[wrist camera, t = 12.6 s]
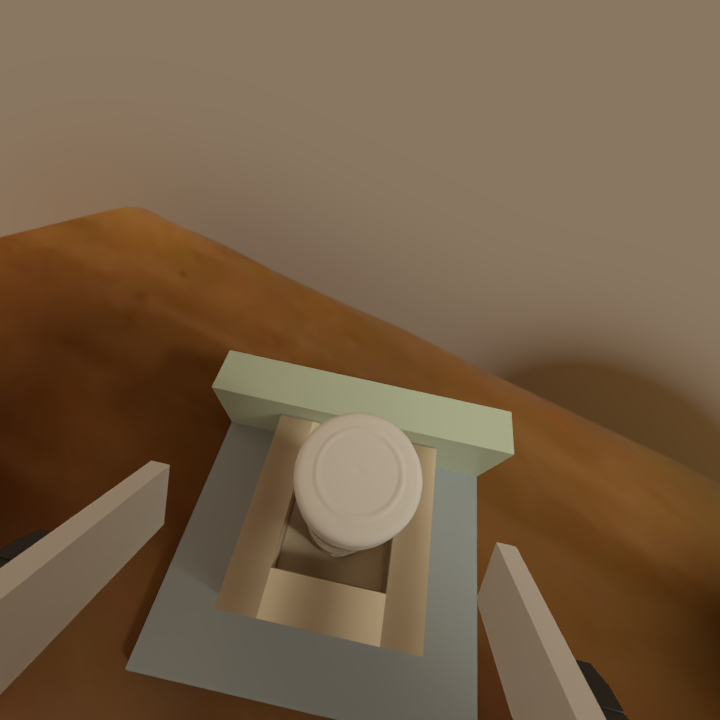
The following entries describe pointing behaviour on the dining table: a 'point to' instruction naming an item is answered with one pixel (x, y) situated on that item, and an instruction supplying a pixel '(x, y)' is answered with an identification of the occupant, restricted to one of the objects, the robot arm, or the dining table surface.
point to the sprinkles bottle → (356, 483)
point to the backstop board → (307, 648)
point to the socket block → (328, 562)
